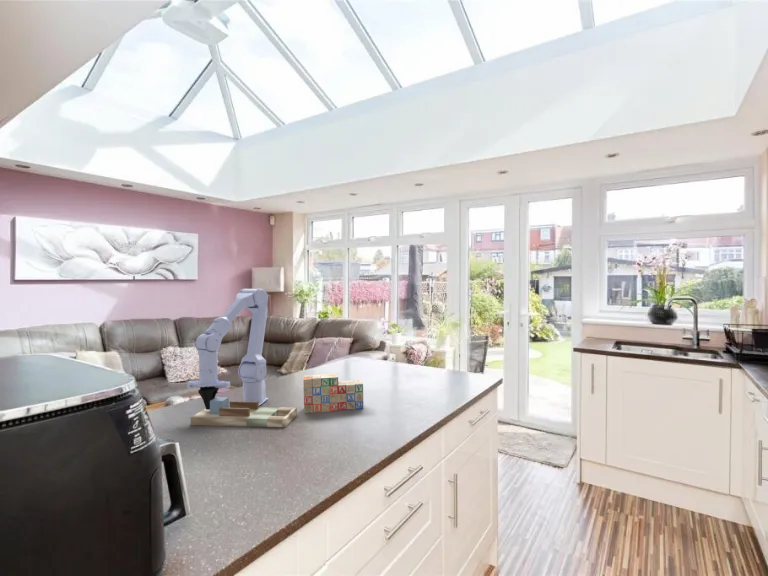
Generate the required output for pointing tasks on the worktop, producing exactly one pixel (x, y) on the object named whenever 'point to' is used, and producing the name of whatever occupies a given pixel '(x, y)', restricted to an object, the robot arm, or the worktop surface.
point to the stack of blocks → (331, 393)
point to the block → (218, 404)
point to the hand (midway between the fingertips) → (209, 408)
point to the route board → (246, 415)
